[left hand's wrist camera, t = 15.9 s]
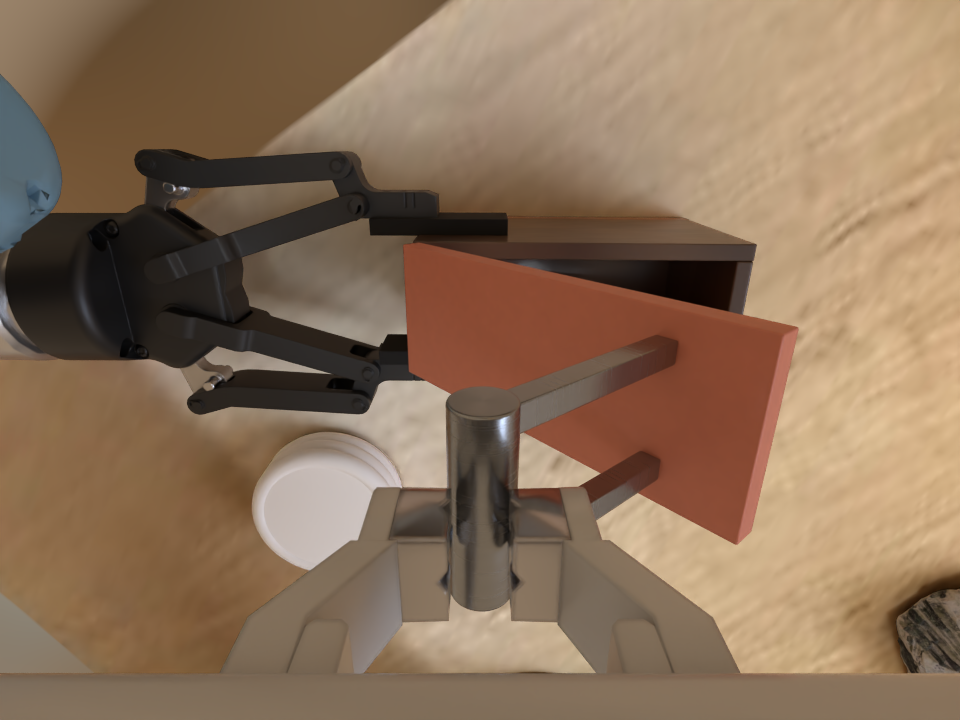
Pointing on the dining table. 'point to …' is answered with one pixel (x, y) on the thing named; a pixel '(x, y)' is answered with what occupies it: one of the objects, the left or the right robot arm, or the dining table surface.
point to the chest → (624, 255)
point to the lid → (588, 397)
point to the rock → (931, 634)
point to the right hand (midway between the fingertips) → (504, 289)
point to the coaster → (318, 495)
